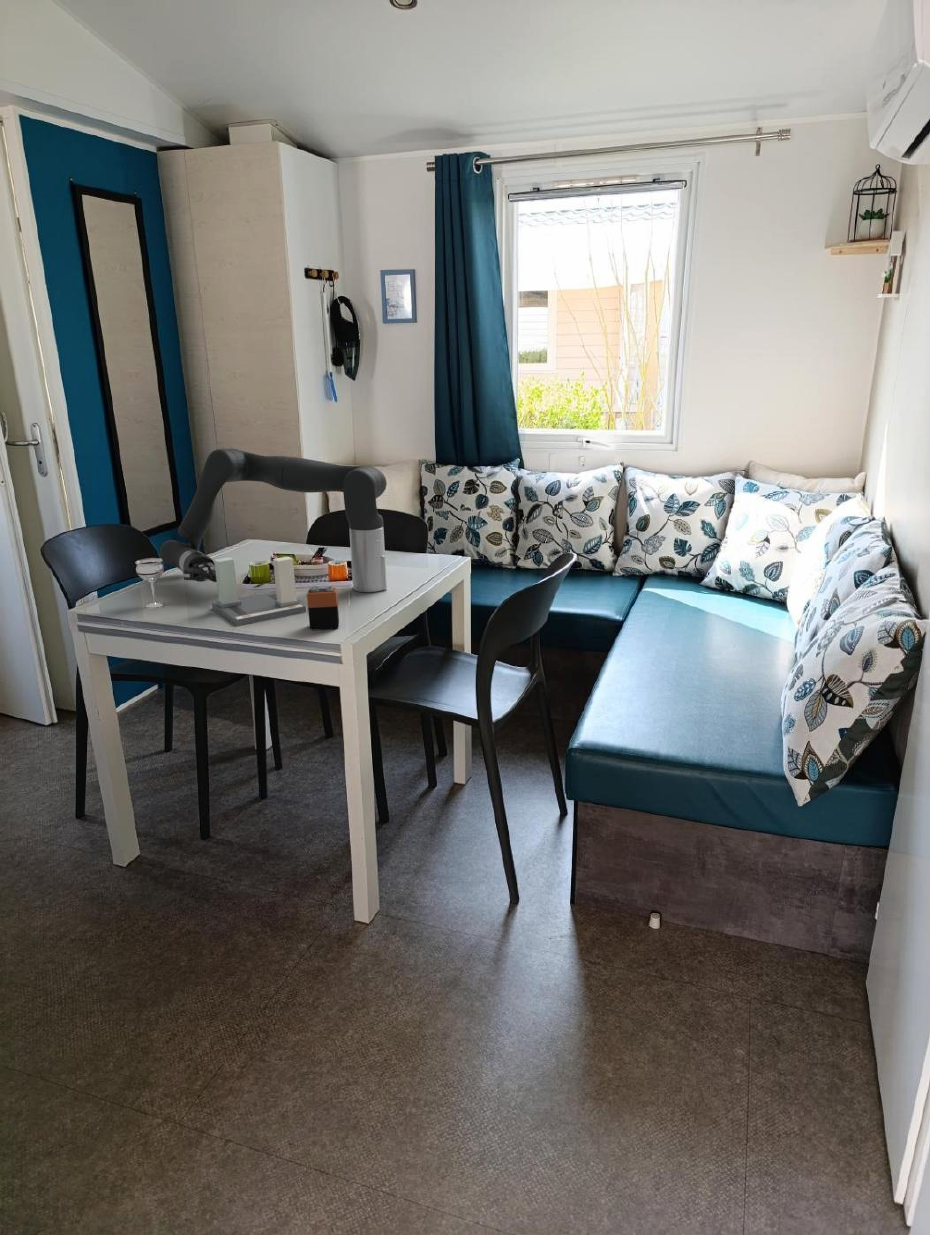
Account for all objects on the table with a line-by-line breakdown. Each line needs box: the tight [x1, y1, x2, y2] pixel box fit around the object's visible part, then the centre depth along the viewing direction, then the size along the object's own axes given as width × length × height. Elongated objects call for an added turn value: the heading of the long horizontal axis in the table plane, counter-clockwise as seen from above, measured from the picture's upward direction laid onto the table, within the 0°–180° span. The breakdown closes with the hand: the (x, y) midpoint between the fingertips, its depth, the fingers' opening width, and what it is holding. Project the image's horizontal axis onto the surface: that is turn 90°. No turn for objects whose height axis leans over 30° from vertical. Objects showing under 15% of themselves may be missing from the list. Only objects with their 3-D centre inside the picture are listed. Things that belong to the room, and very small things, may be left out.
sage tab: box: [213, 556, 241, 608], centre depth 208 cm, size 4×5×12 cm
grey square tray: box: [211, 590, 307, 627], centre depth 210 cm, size 18×18×2 cm
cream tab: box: [272, 556, 300, 607], centre depth 207 cm, size 4×5×12 cm
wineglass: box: [135, 557, 165, 608], centre depth 214 cm, size 7×7×12 cm
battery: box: [306, 585, 340, 630], centre depth 195 cm, size 4×7×10 cm, turn 97°
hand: (217, 578), depth 214 cm, fingers closed
